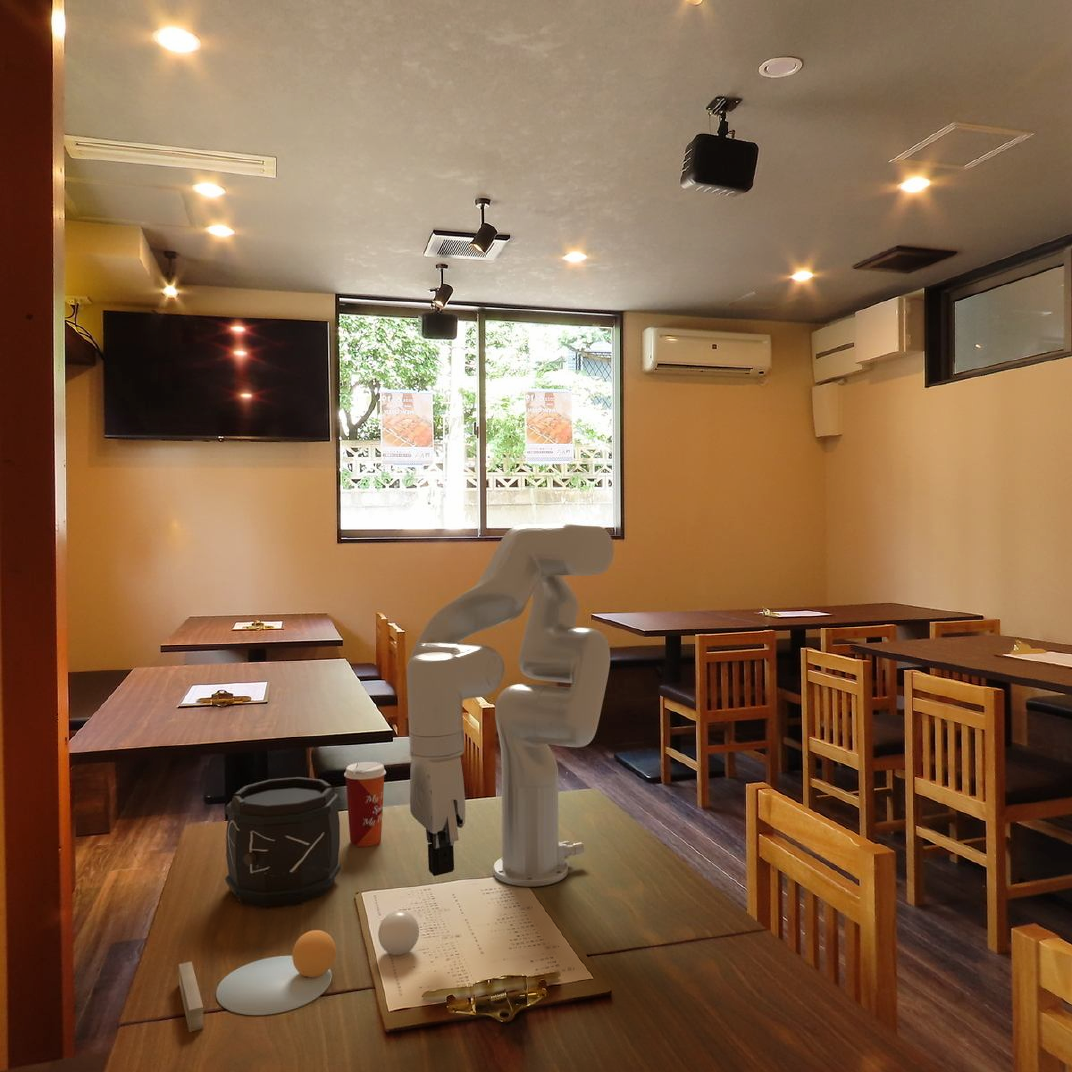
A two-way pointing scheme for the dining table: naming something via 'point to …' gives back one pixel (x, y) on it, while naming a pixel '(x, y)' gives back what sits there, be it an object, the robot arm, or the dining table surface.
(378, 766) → the paper cup
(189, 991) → the rail
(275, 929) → the dining table surface
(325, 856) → the dark grey barrel
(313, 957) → the object ball
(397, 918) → the cue ball
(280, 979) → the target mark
